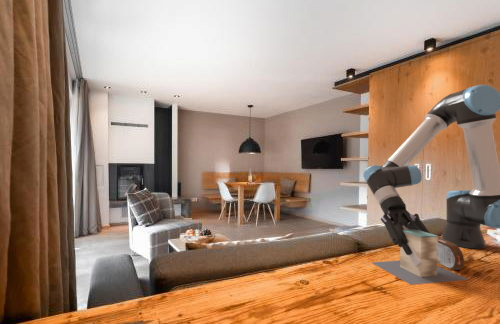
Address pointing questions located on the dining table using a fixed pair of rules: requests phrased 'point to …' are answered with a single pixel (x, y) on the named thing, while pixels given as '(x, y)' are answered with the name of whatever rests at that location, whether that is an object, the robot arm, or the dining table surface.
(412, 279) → the mat
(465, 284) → the dining table surface
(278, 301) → the dining table surface
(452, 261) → the tin
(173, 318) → the dining table surface
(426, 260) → the block
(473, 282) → the dining table surface
